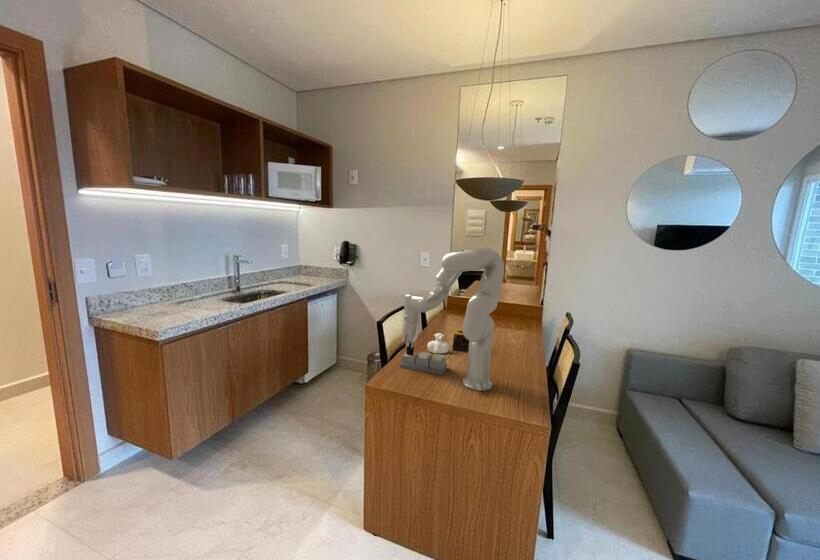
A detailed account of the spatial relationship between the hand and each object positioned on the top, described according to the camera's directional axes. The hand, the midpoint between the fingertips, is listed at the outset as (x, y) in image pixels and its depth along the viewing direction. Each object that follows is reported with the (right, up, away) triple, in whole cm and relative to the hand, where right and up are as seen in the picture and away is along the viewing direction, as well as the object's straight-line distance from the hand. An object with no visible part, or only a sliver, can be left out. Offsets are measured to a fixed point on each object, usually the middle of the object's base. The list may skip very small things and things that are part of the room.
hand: (410, 354), depth 164 cm
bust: (+16, -3, +20) cm, 26 cm away
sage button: (+13, -3, -4) cm, 14 cm away
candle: (+30, -3, +26) cm, 40 cm away
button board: (+7, -6, -2) cm, 9 cm away
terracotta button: (0, -3, 0) cm, 3 cm away
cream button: (+7, -2, -2) cm, 7 cm away
